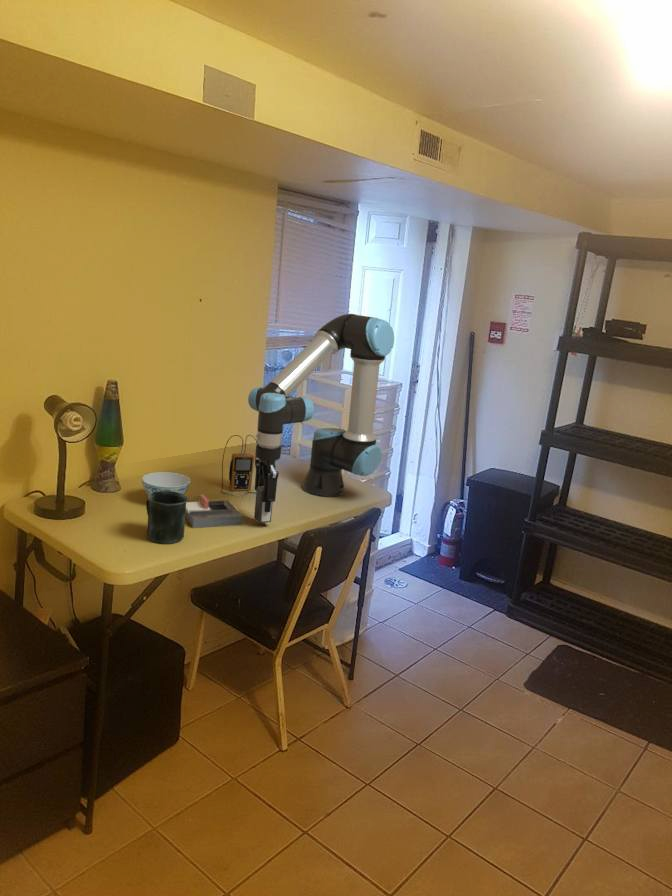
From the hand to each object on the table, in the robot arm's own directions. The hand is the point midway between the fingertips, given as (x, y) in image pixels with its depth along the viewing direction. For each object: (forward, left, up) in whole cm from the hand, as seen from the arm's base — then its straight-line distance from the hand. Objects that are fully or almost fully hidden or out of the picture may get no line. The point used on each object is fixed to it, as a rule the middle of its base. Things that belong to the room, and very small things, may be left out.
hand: (262, 517), depth 214 cm
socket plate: (+14, -8, -2) cm, 16 cm away
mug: (+31, +3, -3) cm, 32 cm away
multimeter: (-4, -29, -3) cm, 29 cm away
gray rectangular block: (0, 0, -1) cm, 1 cm away
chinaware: (+24, -24, -3) cm, 34 cm away
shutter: (+19, -9, +1) cm, 21 cm away
